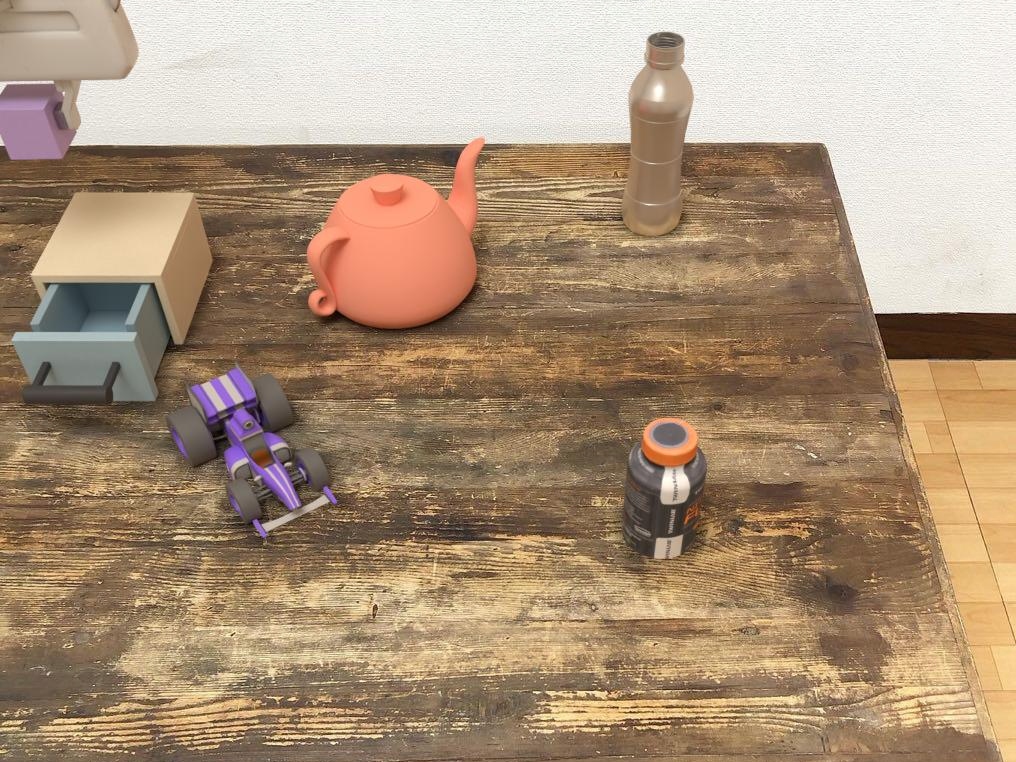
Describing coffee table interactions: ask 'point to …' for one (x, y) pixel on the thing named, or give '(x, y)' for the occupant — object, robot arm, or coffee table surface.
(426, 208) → the teapot
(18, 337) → the blue drawer
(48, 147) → the purple cube
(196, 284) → the drawer cabinet
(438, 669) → the coffee table surface
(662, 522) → the pill bottle
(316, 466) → the toy race car
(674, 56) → the plastic bottle
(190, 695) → the coffee table surface
